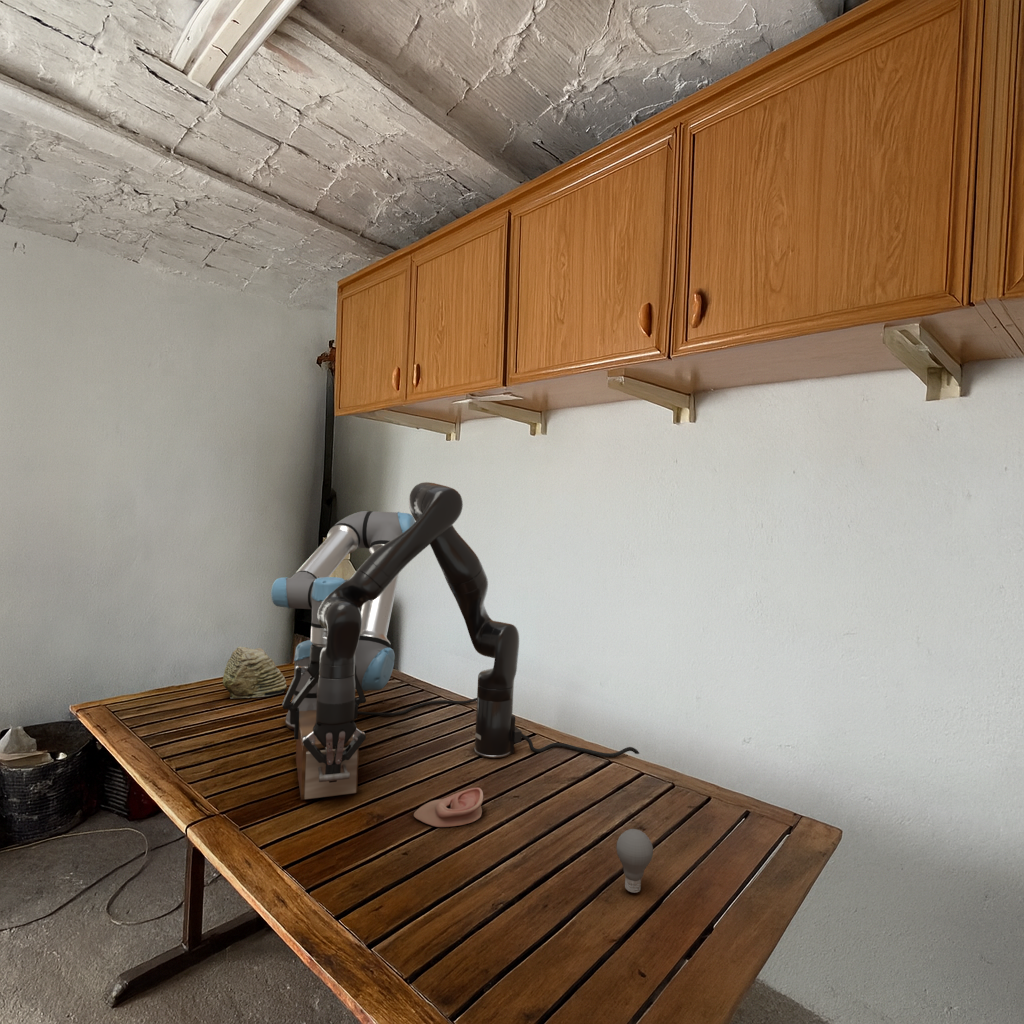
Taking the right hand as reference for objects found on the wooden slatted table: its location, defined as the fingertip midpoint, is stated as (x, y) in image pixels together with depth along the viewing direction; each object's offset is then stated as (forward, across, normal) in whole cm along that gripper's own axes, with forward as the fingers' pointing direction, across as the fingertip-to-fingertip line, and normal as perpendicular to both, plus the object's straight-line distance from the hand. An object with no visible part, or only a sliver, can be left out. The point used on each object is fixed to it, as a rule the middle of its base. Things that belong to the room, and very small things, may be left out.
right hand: (332, 780), depth 129 cm
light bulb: (+6, +44, -43) cm, 62 cm away
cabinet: (+6, 0, +16) cm, 17 cm away
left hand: (-1, 0, +22) cm, 22 cm away
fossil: (+6, -16, +80) cm, 82 cm away
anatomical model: (+6, +22, -9) cm, 25 cm away
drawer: (+5, 0, +11) cm, 12 cm away
